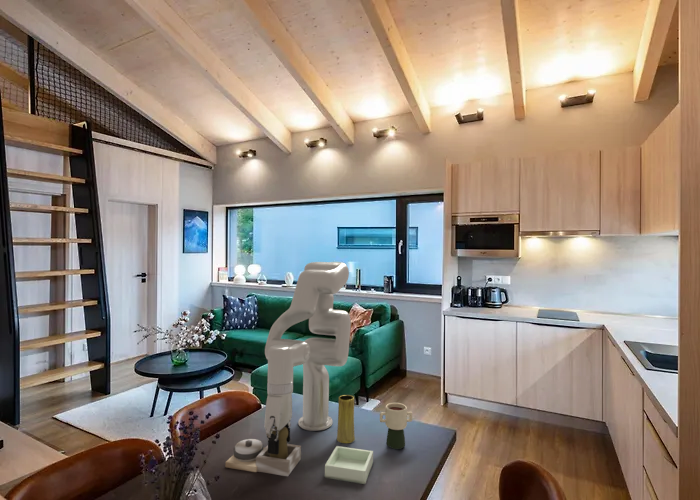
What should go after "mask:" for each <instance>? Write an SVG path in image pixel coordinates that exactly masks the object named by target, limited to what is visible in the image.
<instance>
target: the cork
mask: <svg viewBox="0 0 700 500" xmlns="http://www.w3.org/2000/svg"><path fill="white" fill-rule="evenodd" d="M273 428H274V429H277V427H274V426H273ZM272 433H273V434H274V435H275V434H276V431H272ZM287 437H288V429H287V428H286V427H283V428H282V429H281V430H280V431H279V436H278V440H279V453H278V455H276V454H270V457H273V458H280V459H287V457H288V449H287V444H288V442H287V440H286V439H287Z"/></svg>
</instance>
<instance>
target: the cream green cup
mask: <svg viewBox="0 0 700 500" xmlns="http://www.w3.org/2000/svg"><path fill="white" fill-rule="evenodd" d="M384 416H385V419H384ZM408 416H409V418H408ZM379 422H380V423H385V425H386V428H387V434H386V443H385V444H386V445H387V447H389V448H391V449H395V450H401V449H403V448H405V446H406V437H405V430H404V429H406V428H407V425H408V423H412V422H413V412H412V411H408V408H407V406H406V405H405V404H403V403H401V402H389V403H387V404H386V405H385V411H384V412H383V411H382V412H379Z"/></svg>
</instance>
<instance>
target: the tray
mask: <svg viewBox="0 0 700 500" xmlns="http://www.w3.org/2000/svg"><path fill="white" fill-rule="evenodd" d="M373 464H374V450H370V449H369V450H367V449H362V448H361V449H360V448H354V447H348V446H347V447H346V446H339V445H336V446H335V448H334V449H333V451H332V453H331V454H330V456H329V457H328V460H327V461H326V463H325V465H324V478H325V479H331V480H338V481H342V482H343V481H344V482H351V483H354V484H355V483H356V484H361V485H362V484H363V485H366V484H367V480H368V477H369V475H370V472H371V470H372V467H373Z"/></svg>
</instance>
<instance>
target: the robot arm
mask: <svg viewBox="0 0 700 500" xmlns="http://www.w3.org/2000/svg"><path fill="white" fill-rule="evenodd" d="M349 277H350V270H349V267H348V265H347V264H346V263H344V262H336V261H329V262H327V261H311V262H309V263H307V264H305V266H304V270H303V271H301V272H300V274H299V276H298V279H297V281H296V284H295V288H294V292H293V294H292V295H293V296H292V300H291V304H290V306H289V308H288V309H287V310H285V312H283V313H282V314H281V315H280V316H279V317H278V318H277V319H276V320H275V321H274V322H273V324H272V326H271V327H270V330H269V333H268V336H267V338H266V343H265V346H264V355H265V358H266V360H267V385H266V387H267V390H266V391H267V396H266V397H267V398H266V401H265V411H264V414H265V415H264V429H265V434H266V438H267V445H268V453H269V454H276V455H278V453H279V440H278V436H279V431H280V430H281V429H282V428H283V427H286V428H287V429H288V437H287V439H286V440H287V443H288V442H290V441H291V426H292V424H291V420H292V417H293V393H294V367H296V366H297V367H298V366H301V365H302V371H303V372H302V374H303V376H302V377H303V379H302V416H301V417H300V418H299V419H298V427H300V428H301V429H303V430H306V431H312V432H313V431H314V432H317V431H324V430H326V429H328V428H330V427H331V426H332V425H333V423H334V421H333V419H332V417H331V416H329V409H330V407H329V404H330V403H329V401H330V400H329V399H330V397H329V396H330V395H329V394H330V375H329V371H328V370H327V368H326V366H329V367H330V366H331V367H343V366H345V365H346V364H347V361H348V358H349V350H350V341H351V340H350V339H351V326H352V322H351V321H352V320H351V316H350V314H349V312H348V311H346V310H342V309H334V299H335V298H334V297H335V296H334V294H335V295H336V294H337V293H338V292H339V291H340V290H341V289H342V288H343V287H344V286H345V285H346V283H348V280H349ZM306 320H308V329H309V331H310V332H311V333H312V334H316V335H325V336H335V338H324V337H309V338H307V339H305V340H298V339H289V338H282V337H283V335H284V333H285V332H286V331H287V330H288V329H289V328H290V327H292V326H294V325H296V324H298V323H300V322H301V323H302V322H303V321H306ZM274 427H277V429H274ZM272 431H276V434H275V435H274V434H273V433H272Z"/></svg>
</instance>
